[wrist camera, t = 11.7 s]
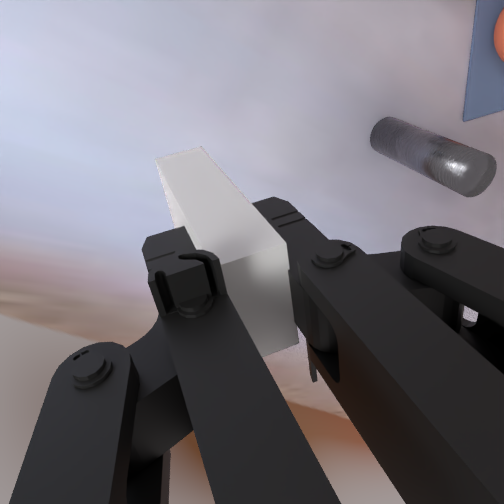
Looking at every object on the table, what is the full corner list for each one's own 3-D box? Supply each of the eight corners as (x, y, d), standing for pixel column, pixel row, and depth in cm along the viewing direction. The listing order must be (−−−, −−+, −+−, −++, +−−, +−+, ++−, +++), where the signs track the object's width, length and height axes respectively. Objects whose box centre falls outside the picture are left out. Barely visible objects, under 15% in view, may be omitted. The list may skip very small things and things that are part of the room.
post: (370, 156, 33) (456, 202, 26) (370, 122, 31) (461, 160, 24) (399, 147, 33) (492, 190, 26) (401, 113, 32) (499, 148, 25)
